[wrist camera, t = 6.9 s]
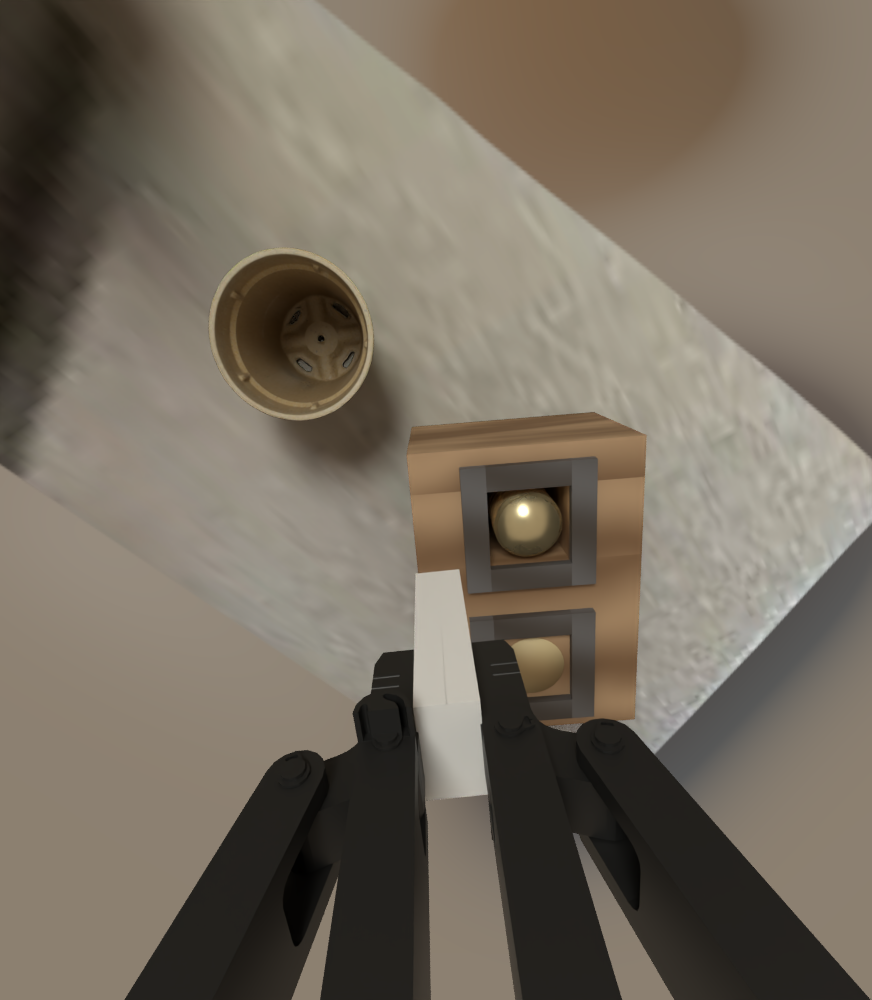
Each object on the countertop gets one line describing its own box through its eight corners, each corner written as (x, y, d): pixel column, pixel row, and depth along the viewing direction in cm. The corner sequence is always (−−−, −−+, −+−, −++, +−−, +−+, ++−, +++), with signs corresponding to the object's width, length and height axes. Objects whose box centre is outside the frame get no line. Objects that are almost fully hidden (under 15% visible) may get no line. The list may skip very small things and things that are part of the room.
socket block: (411, 426, 40) (406, 456, 29) (593, 412, 39) (650, 437, 29) (432, 651, 46) (434, 740, 35) (591, 639, 45) (637, 725, 35)
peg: (479, 464, 39) (492, 495, 31) (535, 459, 39) (563, 490, 31) (482, 517, 40) (495, 560, 32) (537, 512, 40) (563, 555, 32)
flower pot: (248, 386, 39) (199, 399, 30) (266, 252, 36) (217, 226, 28) (371, 416, 39) (356, 436, 31) (398, 287, 37) (389, 272, 28)
